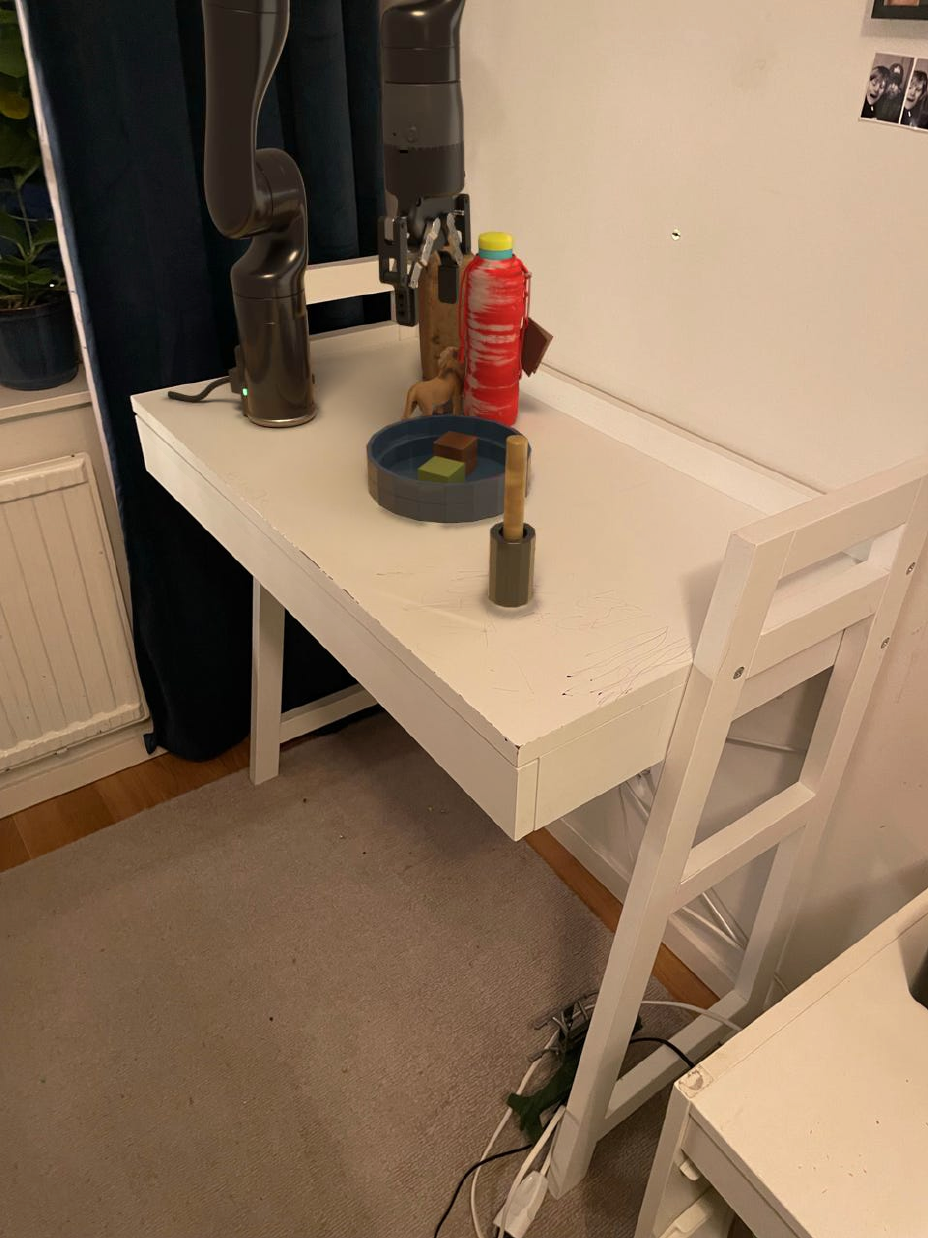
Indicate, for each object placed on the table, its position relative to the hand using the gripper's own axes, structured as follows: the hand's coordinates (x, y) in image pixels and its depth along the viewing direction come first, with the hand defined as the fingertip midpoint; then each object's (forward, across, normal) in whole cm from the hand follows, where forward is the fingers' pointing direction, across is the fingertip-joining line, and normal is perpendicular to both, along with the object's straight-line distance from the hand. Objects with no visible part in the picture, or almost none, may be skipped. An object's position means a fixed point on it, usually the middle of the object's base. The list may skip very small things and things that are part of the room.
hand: (429, 313), depth 96 cm
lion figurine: (+22, -21, -12) cm, 33 cm away
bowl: (+22, -5, -1) cm, 23 cm away
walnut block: (+22, -9, -2) cm, 24 cm away
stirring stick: (+22, +13, +16) cm, 30 cm away
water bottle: (+23, -25, -4) cm, 34 cm away
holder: (+23, +13, +16) cm, 31 cm away
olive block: (+22, -2, 0) cm, 22 cm away
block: (+22, -34, -17) cm, 44 cm away
